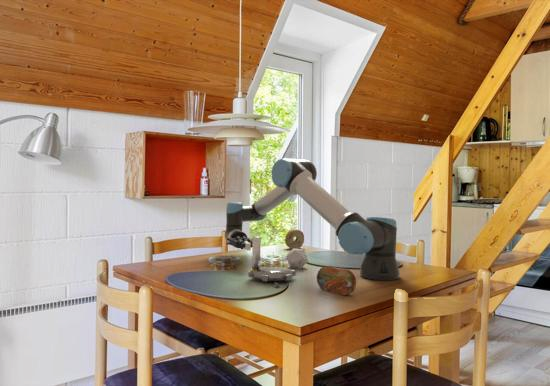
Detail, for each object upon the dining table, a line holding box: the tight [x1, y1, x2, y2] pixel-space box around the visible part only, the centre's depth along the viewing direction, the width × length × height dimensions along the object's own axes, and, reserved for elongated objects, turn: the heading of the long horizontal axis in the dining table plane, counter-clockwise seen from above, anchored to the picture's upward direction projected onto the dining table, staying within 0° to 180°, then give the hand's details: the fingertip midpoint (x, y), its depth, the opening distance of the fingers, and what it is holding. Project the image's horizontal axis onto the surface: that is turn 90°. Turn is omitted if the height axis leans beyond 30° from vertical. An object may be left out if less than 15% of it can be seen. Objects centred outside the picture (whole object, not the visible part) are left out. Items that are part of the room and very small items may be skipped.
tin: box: [316, 266, 357, 296], centre depth 162 cm, size 15×3×8 cm, turn 44°
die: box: [285, 248, 309, 270], centre depth 203 cm, size 8×9×10 cm
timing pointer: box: [273, 281, 280, 288], centre depth 169 cm, size 4×1×1 cm, turn 9°
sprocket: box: [247, 236, 297, 282], centre depth 179 cm, size 18×16×14 cm
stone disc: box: [284, 229, 305, 250], centre depth 252 cm, size 10×4×10 cm, turn 114°
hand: (248, 247), depth 194 cm, fingers closed
